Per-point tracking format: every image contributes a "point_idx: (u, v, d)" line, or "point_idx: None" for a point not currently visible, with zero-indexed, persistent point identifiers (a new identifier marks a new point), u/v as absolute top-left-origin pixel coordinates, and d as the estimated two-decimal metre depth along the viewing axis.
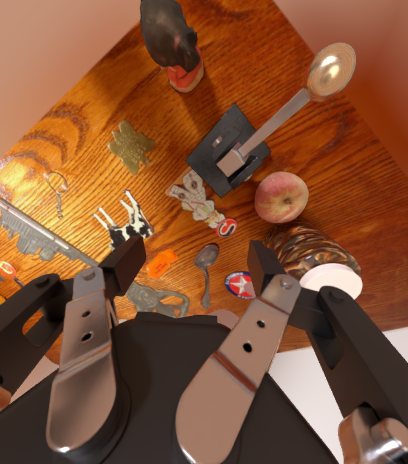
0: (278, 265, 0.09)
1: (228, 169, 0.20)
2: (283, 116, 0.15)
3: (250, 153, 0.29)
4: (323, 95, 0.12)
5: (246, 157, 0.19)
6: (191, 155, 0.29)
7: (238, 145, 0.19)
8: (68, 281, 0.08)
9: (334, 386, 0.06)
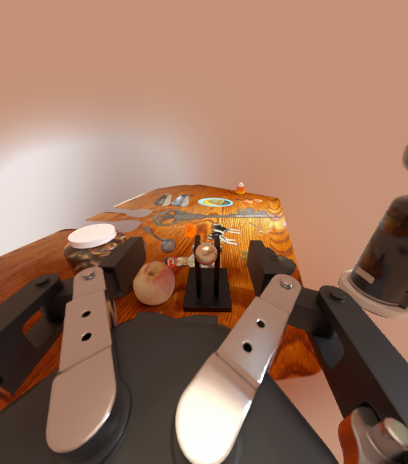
0: (278, 265, 0.09)
1: None
2: None
3: (195, 295, 0.36)
4: None
5: None
6: (225, 271, 0.42)
7: None
8: (68, 281, 0.08)
9: (334, 386, 0.06)
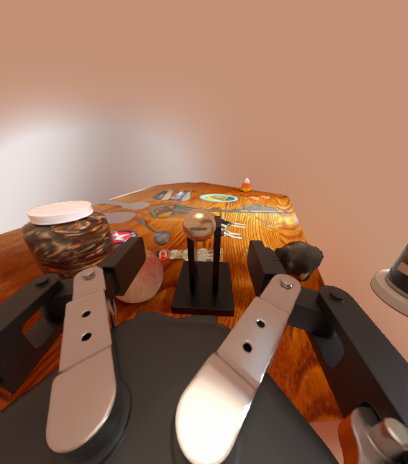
0: (278, 265, 0.09)
1: None
2: None
3: (188, 293, 0.28)
4: None
5: None
6: (227, 266, 0.34)
7: None
8: (68, 281, 0.08)
9: (334, 386, 0.06)
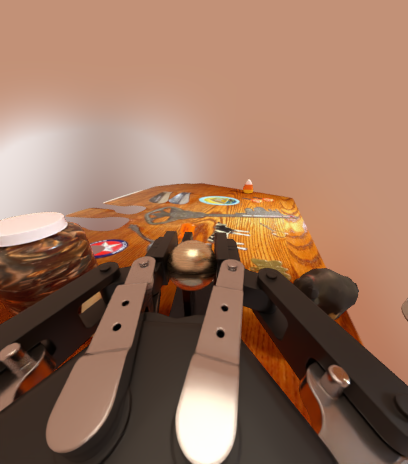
0: (235, 253, 0.10)
1: None
2: None
3: None
4: None
5: None
6: None
7: None
8: (124, 269, 0.09)
9: (285, 353, 0.07)
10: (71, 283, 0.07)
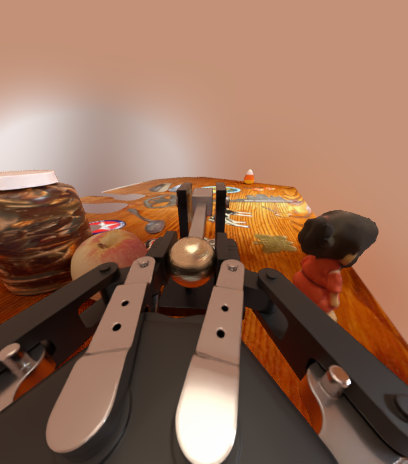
0: (235, 253, 0.10)
1: (199, 189, 0.19)
2: (196, 226, 0.13)
3: (182, 288, 0.21)
4: None
5: (194, 207, 0.18)
6: None
7: (208, 210, 0.18)
8: (123, 269, 0.09)
9: (286, 353, 0.07)
10: (71, 283, 0.07)
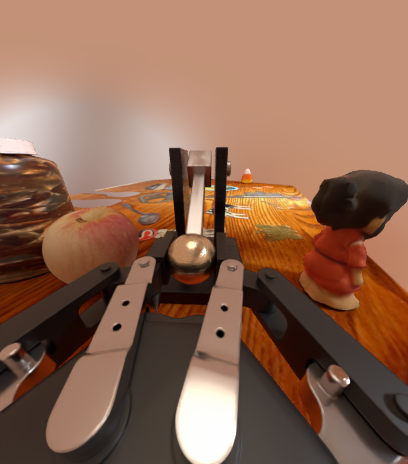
0: (235, 253, 0.10)
1: (196, 154, 0.16)
2: (194, 213, 0.12)
3: None
4: (178, 239, 0.10)
5: (190, 178, 0.16)
6: None
7: (207, 181, 0.16)
8: (124, 269, 0.09)
9: (285, 353, 0.07)
10: (72, 283, 0.07)
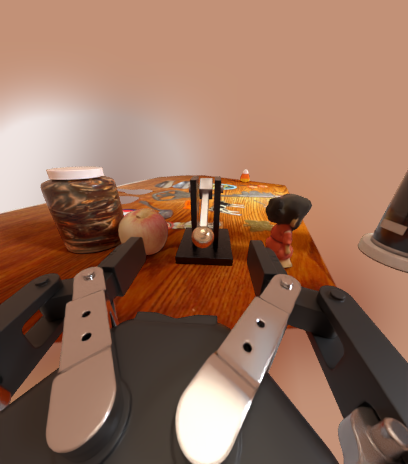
0: (278, 265, 0.09)
1: (203, 181, 0.28)
2: (203, 215, 0.25)
3: (191, 248, 0.30)
4: (196, 228, 0.22)
5: (200, 194, 0.28)
6: (227, 231, 0.37)
7: (209, 196, 0.28)
8: (68, 281, 0.08)
9: (334, 386, 0.06)
10: None
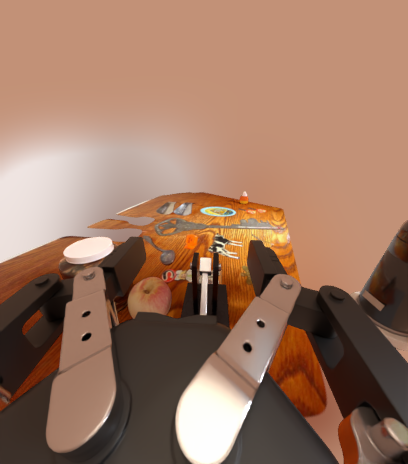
0: (278, 265, 0.09)
1: (203, 261, 0.31)
2: (203, 301, 0.28)
3: (192, 315, 0.34)
4: None
5: (200, 273, 0.31)
6: (225, 288, 0.40)
7: (209, 274, 0.32)
8: (68, 281, 0.08)
9: (334, 386, 0.06)
10: None
